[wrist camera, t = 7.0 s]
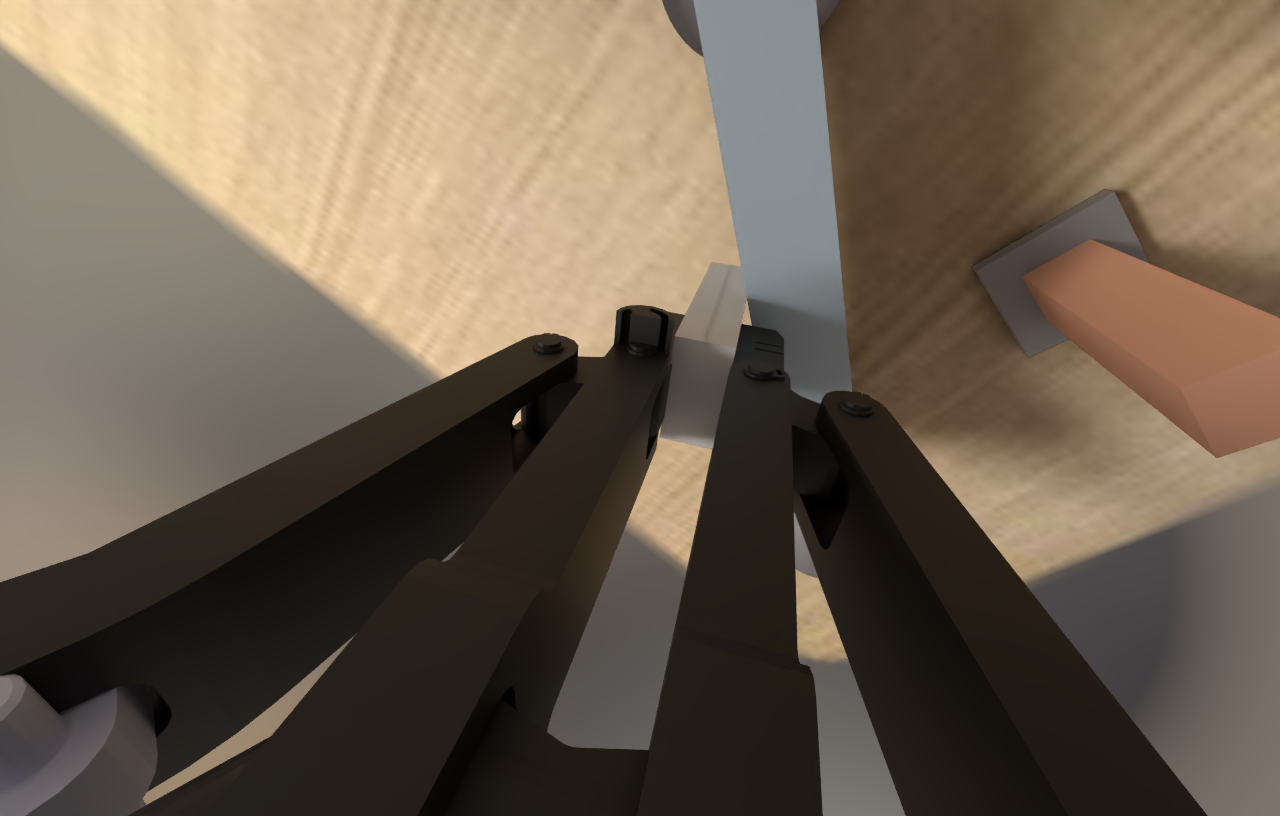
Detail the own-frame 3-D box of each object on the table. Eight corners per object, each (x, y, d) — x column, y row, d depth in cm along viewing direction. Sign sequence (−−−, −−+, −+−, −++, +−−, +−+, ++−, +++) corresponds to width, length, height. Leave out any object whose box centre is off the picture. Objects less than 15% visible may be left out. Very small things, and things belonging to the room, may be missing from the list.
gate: (725, 22, 16) (665, -58, 8) (803, -8, 15) (812, -128, 8) (789, 424, 22) (787, 578, 15) (846, 419, 22) (874, 579, 14)
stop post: (1104, 189, 16) (1383, 256, 8) (1154, 288, 17) (1446, 427, 9) (971, 266, 18) (1101, 376, 10) (1022, 351, 19) (1175, 507, 11)
